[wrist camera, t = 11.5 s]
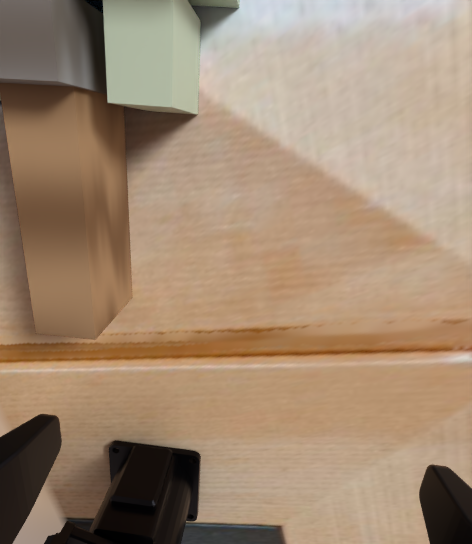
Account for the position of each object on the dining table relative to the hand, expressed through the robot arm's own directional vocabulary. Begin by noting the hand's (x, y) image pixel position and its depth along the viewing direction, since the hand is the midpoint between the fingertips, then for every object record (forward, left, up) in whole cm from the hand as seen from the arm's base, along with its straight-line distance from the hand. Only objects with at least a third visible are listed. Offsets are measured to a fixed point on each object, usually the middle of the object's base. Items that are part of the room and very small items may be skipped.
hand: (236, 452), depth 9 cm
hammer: (+4, +9, -13) cm, 16 cm away
